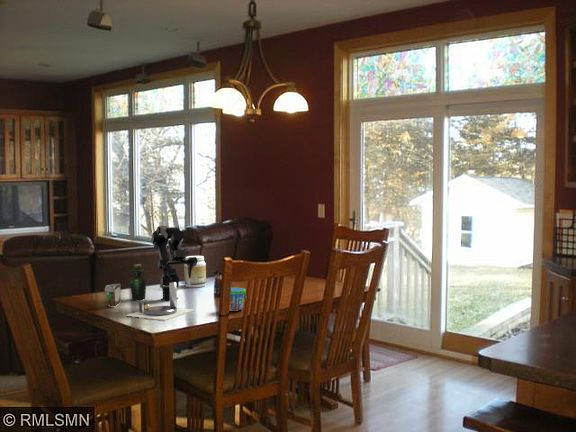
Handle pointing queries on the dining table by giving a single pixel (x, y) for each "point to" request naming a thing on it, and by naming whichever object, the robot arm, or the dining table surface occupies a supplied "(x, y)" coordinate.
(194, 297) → the dining table surface
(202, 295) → the dining table surface
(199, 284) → the supplement tub
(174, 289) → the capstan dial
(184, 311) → the level stand
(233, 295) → the snack cup
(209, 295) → the dining table surface
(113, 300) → the food container
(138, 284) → the potion bottle
